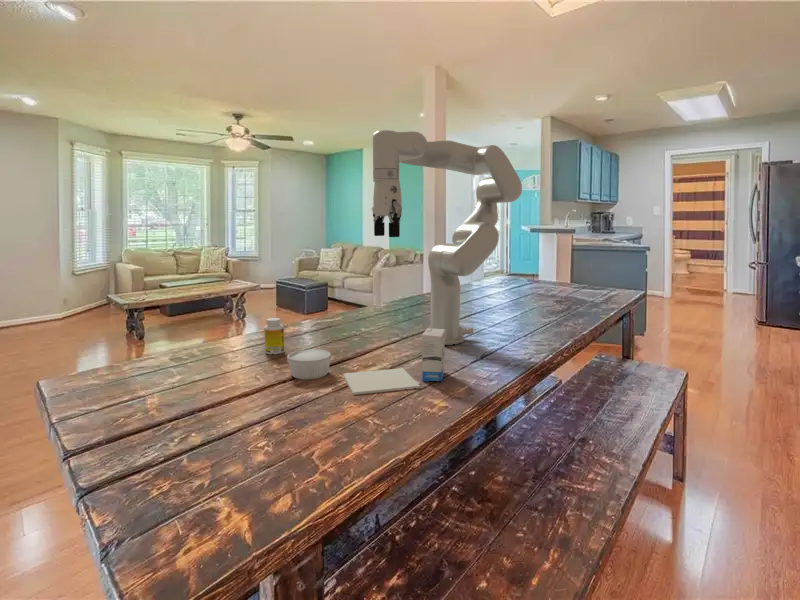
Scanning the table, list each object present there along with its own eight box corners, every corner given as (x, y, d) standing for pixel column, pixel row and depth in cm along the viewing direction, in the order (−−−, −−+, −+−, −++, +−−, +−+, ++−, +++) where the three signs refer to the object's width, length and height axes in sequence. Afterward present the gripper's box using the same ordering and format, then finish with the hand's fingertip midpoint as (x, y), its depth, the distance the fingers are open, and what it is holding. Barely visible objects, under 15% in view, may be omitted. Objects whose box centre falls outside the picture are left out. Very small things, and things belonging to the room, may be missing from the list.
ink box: (441, 383, 119) (441, 336, 117) (421, 381, 120) (421, 335, 118) (445, 372, 127) (445, 328, 125) (426, 370, 128) (426, 327, 126)
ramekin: (293, 367, 131) (293, 348, 130) (334, 367, 131) (334, 348, 130) (282, 381, 120) (281, 360, 119) (327, 381, 120) (326, 361, 119)
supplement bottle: (285, 354, 143) (284, 320, 142) (266, 355, 142) (264, 321, 140) (283, 349, 149) (281, 316, 147) (264, 351, 147) (262, 317, 145)
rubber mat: (403, 370, 128) (403, 368, 128) (419, 388, 115) (419, 385, 115) (343, 375, 124) (343, 373, 124) (353, 394, 111) (353, 392, 111)
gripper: (412, 174, 133) (412, 237, 136) (384, 178, 148) (385, 235, 151) (387, 173, 130) (388, 237, 133) (362, 177, 145) (363, 235, 148)
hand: (386, 236), depth 142 cm, fingers open, 9 cm apart
